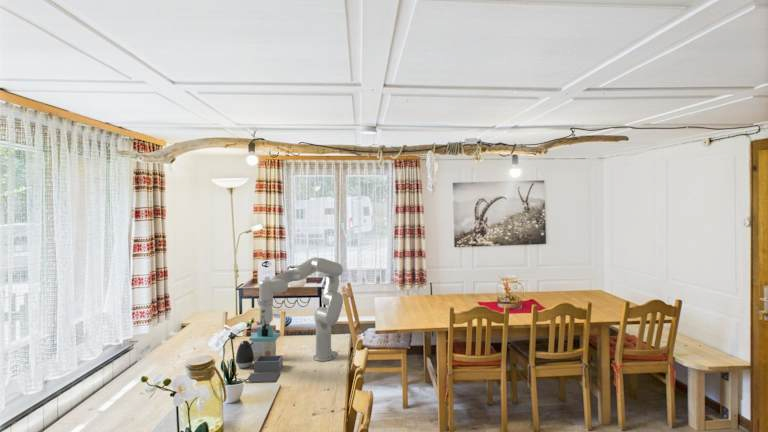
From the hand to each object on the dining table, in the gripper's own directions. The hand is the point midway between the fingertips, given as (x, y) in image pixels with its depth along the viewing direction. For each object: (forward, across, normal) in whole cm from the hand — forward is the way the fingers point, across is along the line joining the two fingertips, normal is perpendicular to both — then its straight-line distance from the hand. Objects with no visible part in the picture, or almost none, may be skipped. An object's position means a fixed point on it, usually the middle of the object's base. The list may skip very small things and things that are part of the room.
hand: (265, 334), depth 213 cm
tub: (+21, +7, 0) cm, 23 cm away
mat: (+22, -6, -1) cm, 22 cm away
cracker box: (+22, +23, +7) cm, 32 cm away
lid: (+1, 0, 0) cm, 2 cm away
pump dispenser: (+22, +12, +15) cm, 29 cm away
